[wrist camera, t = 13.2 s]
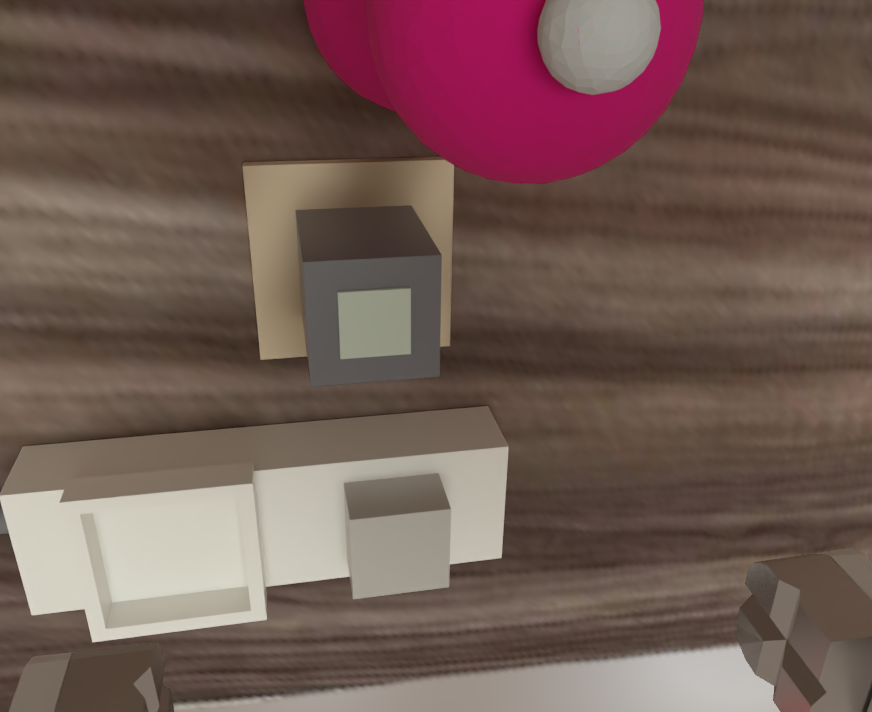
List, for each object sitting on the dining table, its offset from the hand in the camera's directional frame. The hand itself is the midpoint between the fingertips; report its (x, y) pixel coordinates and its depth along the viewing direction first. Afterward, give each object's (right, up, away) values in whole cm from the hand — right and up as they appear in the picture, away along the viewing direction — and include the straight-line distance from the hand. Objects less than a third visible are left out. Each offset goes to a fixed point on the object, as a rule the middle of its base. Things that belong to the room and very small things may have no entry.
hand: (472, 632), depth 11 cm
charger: (-4, +8, +21) cm, 23 cm away
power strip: (-12, -2, +25) cm, 28 cm away
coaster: (-4, +8, +22) cm, 23 cm away
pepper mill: (-2, +17, +18) cm, 25 cm away
